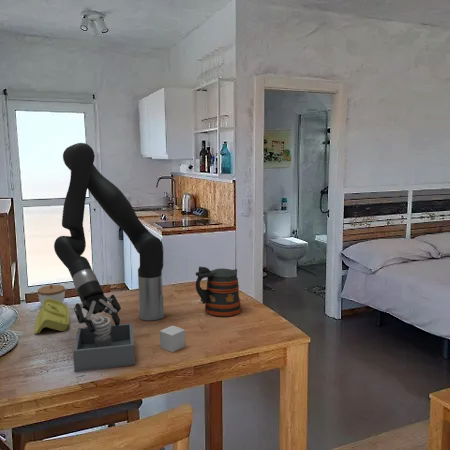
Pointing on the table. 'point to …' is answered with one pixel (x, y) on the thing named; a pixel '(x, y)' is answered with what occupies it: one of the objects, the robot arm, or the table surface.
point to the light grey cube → (172, 338)
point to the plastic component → (52, 316)
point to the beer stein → (219, 291)
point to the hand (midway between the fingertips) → (106, 328)
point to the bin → (104, 349)
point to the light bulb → (102, 332)
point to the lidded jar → (51, 293)
